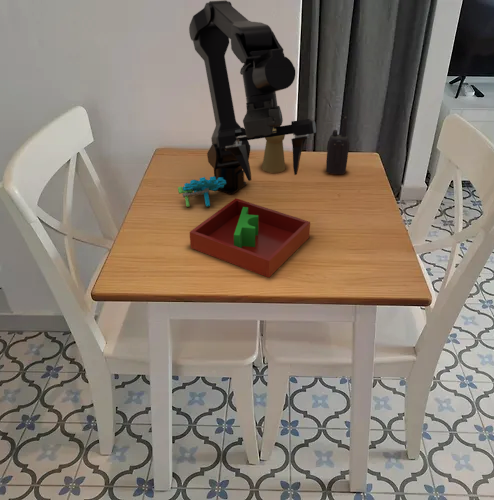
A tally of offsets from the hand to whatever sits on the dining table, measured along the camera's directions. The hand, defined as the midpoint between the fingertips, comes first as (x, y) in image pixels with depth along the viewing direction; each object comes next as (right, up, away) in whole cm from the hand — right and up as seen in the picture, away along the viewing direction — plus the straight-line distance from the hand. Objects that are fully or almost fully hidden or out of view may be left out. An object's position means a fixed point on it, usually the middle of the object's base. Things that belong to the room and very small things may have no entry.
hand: (272, 177), depth 107 cm
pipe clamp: (-5, -12, +7) cm, 15 cm away
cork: (0, +7, +36) cm, 37 cm away
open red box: (-4, -13, +6) cm, 15 cm away
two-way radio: (+16, +5, +34) cm, 38 cm away
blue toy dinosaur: (-16, -3, +21) cm, 27 cm away
